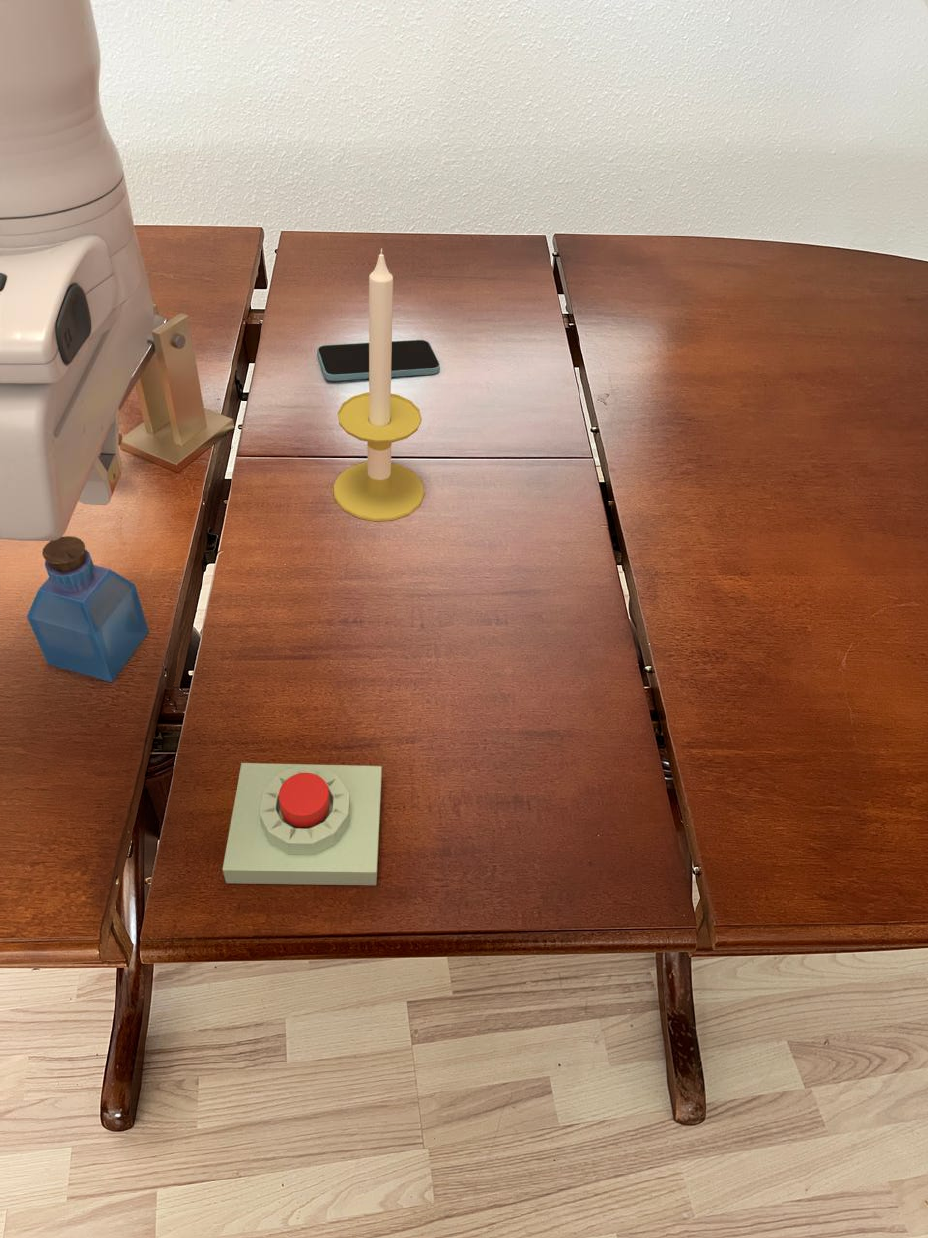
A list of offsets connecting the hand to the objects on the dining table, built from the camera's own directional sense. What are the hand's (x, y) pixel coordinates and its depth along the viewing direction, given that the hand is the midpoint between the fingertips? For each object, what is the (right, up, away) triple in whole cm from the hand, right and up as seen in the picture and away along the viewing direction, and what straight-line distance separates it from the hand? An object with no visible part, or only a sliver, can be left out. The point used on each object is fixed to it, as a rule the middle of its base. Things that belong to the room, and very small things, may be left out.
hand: (101, 488), depth 48 cm
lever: (-13, +17, +40) cm, 45 cm away
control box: (+8, -24, +18) cm, 31 cm away
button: (+9, -21, +16) cm, 28 cm away
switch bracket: (-12, +13, +50) cm, 53 cm away
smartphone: (+9, +26, +63) cm, 69 cm away
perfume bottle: (-12, -10, +29) cm, 33 cm away
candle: (+11, +7, +46) cm, 48 cm away
